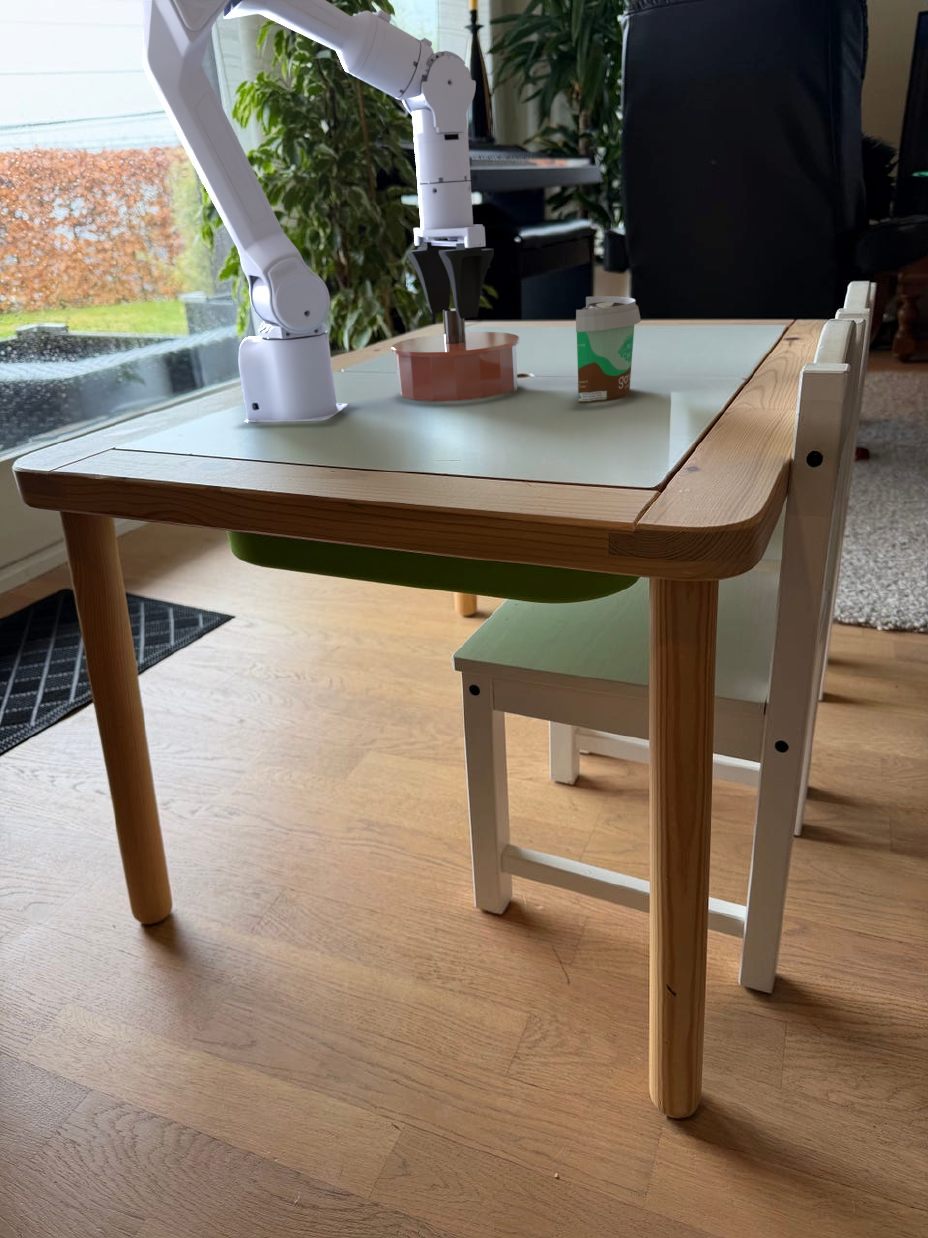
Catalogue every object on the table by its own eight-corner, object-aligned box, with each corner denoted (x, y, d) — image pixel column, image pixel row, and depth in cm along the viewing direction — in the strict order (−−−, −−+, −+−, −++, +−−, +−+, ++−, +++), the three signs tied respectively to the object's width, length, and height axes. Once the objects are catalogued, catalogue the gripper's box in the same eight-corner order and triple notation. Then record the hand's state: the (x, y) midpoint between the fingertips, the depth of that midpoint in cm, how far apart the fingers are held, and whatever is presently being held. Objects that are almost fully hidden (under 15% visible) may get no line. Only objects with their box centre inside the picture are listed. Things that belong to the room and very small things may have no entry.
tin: (386, 407, 106) (382, 358, 104) (416, 383, 118) (412, 339, 116) (506, 404, 103) (504, 353, 101) (524, 380, 115) (522, 334, 113)
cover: (382, 365, 103) (378, 321, 101) (403, 344, 116) (399, 305, 114) (516, 358, 101) (514, 313, 99) (522, 338, 115) (520, 298, 113)
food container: (637, 410, 96) (638, 307, 92) (577, 411, 98) (575, 310, 94) (642, 385, 107) (643, 293, 103) (587, 387, 109) (586, 296, 105)
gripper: (508, 177, 97) (514, 315, 103) (449, 182, 109) (458, 306, 115) (445, 181, 94) (455, 323, 100) (393, 186, 106) (404, 312, 112)
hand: (453, 314), depth 107 cm, fingers open, 7 cm apart
